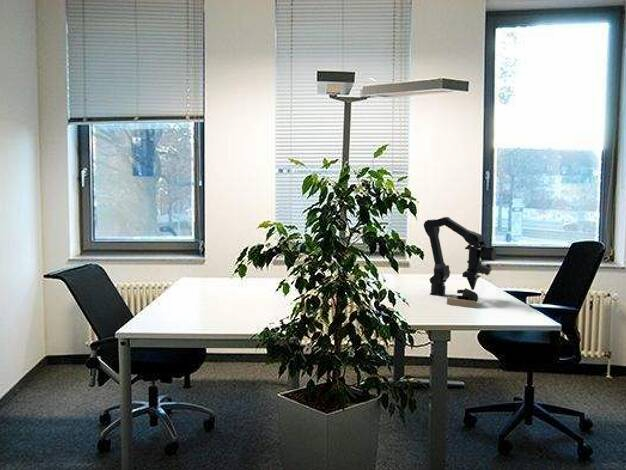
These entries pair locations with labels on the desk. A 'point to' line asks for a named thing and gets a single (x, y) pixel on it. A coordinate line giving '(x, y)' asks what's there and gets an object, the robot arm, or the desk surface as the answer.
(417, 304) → the desk surface
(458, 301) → the mat
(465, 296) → the end cap
